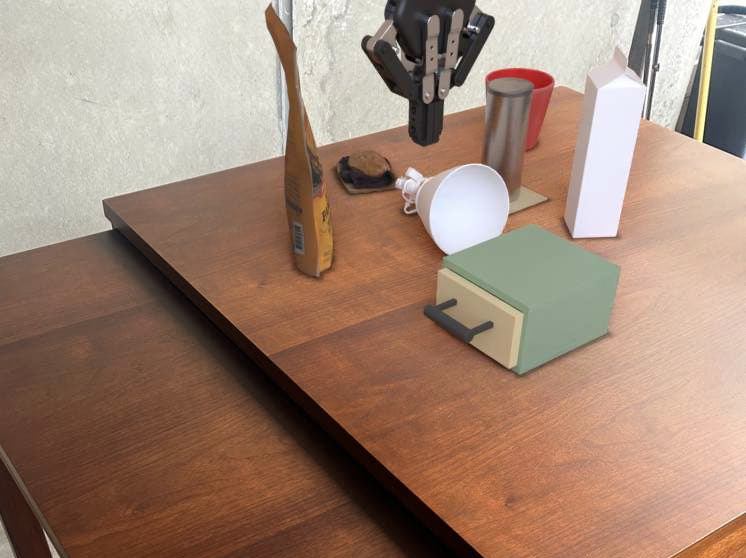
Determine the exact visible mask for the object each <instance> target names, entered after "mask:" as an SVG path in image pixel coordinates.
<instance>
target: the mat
mask: <svg viewBox="0 0 746 558" xmlns="http://www.w3.org/2000/svg"><path fill="white" fill-rule="evenodd" d="M548 200H549V199H548V197H547V196H545V195H543V194H540V193H538V192H536V191H534V190H532V189H530V188H528V187H525V186H523V185H521V189H520V196H519V198H518V199H517V200H516V201H514V202H511V203H509V213H508V215H510V214H511V215H512V214H513V213H516V212H519V211H521V210H525V209H526V208H530V207H532V206H534V205H537V204H540V203H542V202H546V201H548Z"/></svg>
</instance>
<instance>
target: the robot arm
mask: <svg viewBox="0 0 746 558" xmlns="http://www.w3.org/2000/svg"><path fill="white" fill-rule="evenodd" d="M383 17H384V22H383V23H382V24H381V26H380V27H379V28H378V29H377V31H376V32H375V33H374V35H371V34H365V35H364V36H363V37H362V38H361V42H360V47H361V50H362V51H363V53H364V54H365V56H366V57H367V59H368V60H369V62H370V64H371V65H372V66H373V68H374V69H375V71H376V72H377V74H378V75H379V76H380V78H381V80H382V81H383V83H384V84H385V86H386V87H387V89H388V90H389V92H391V93H392V94H394V95H397V96H399V97H401V98H403V99H406V100H408V121H407V122H408V123H407V124H408V126H407V133H408V135H409V138H411V141H412V142H413V143H414V144H416V145H418V146H420V147H423V148H426V147H428V146H432V145H436V144H438V143H439V141H440V136H441V135H442V132H443V129H444V116H445V115H444V112H445V99H446V98H447V97H448V96H449V94H450V91H451V90H452V89H454V87H457V88H461V87H462V86H463V85H464V84H465V81H466V80H467V78H468V76H469V74H470V72H471V70H472V69H473V67H474V65H475V63H476V61H477V60H478V58H479V56H480V53H481V52H482V50H483V49H484V46H485V44H486V42H487V41H488V39H489V37H490V36H491V33H492V32H493V29H494V27H495V25H496V19H495V17H494V16H493V15H490V14H488V13H486V12H483V10H481V8H479V7H478V5H477V0H387V1H386V4H385V6H384V11H383ZM398 46H399V47H398ZM399 54H400V58H399V56H398V55H399Z"/></svg>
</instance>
